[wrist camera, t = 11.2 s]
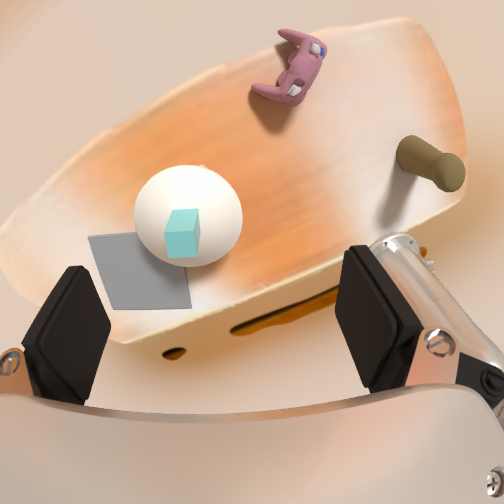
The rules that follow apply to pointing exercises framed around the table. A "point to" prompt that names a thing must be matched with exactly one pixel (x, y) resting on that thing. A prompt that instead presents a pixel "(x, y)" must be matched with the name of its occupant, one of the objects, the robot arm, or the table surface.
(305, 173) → the table surface
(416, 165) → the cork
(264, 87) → the video game controller
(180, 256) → the lid
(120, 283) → the mat
